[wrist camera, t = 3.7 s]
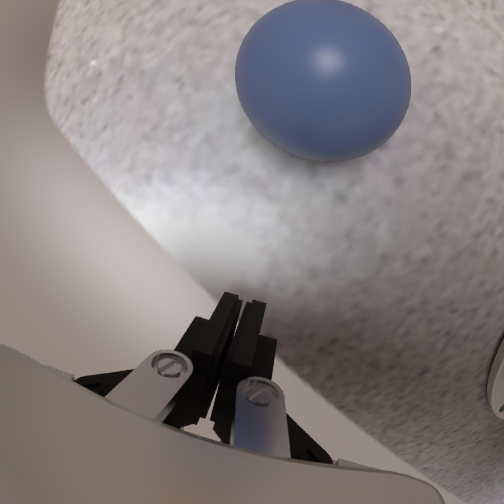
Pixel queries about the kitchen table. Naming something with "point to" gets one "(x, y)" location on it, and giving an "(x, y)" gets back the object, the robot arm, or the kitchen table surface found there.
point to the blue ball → (323, 80)
